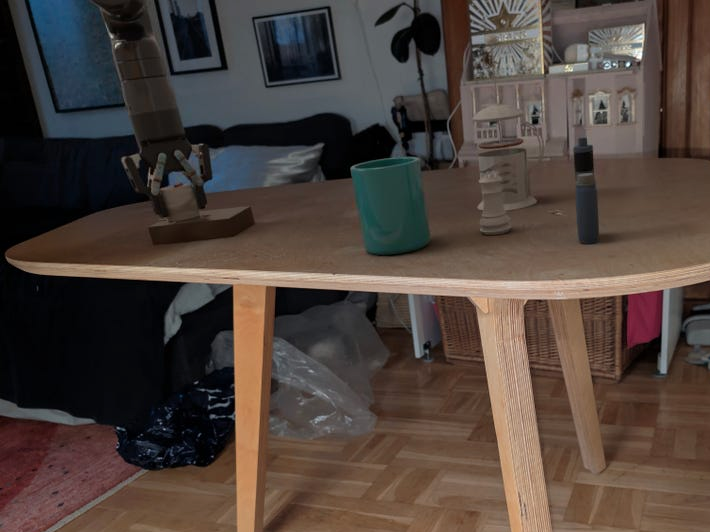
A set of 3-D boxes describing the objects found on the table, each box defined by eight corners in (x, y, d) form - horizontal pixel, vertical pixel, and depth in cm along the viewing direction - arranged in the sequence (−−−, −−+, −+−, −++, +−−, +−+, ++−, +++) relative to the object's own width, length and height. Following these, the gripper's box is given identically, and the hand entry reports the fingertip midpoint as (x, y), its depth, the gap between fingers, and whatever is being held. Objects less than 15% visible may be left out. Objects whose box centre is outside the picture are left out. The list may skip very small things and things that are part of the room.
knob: (192, 219, 117) (183, 186, 115) (162, 222, 117) (152, 189, 115) (204, 212, 122) (195, 180, 120) (175, 216, 122) (166, 184, 120)
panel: (149, 245, 117) (143, 226, 115) (176, 231, 126) (171, 213, 125) (233, 236, 115) (228, 217, 114) (254, 222, 124) (250, 205, 123)
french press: (488, 198, 120) (471, 38, 110) (554, 195, 116) (542, 29, 106) (468, 212, 111) (447, 40, 101) (538, 209, 107) (524, 30, 97)
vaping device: (597, 232, 90) (592, 136, 85) (600, 243, 85) (595, 141, 80) (577, 234, 90) (571, 138, 86) (578, 245, 86) (572, 143, 81)
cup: (443, 231, 101) (432, 151, 97) (421, 254, 90) (407, 165, 86) (384, 235, 103) (371, 157, 99) (355, 258, 92) (339, 171, 88)
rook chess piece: (494, 226, 100) (488, 169, 97) (518, 228, 97) (512, 169, 94) (473, 234, 97) (466, 175, 94) (497, 236, 94) (490, 176, 91)
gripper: (112, 114, 106) (146, 224, 112) (205, 102, 114) (231, 205, 121) (99, 115, 111) (132, 220, 118) (188, 103, 119) (215, 202, 126)
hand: (182, 212), depth 119 cm, fingers open, 6 cm apart
